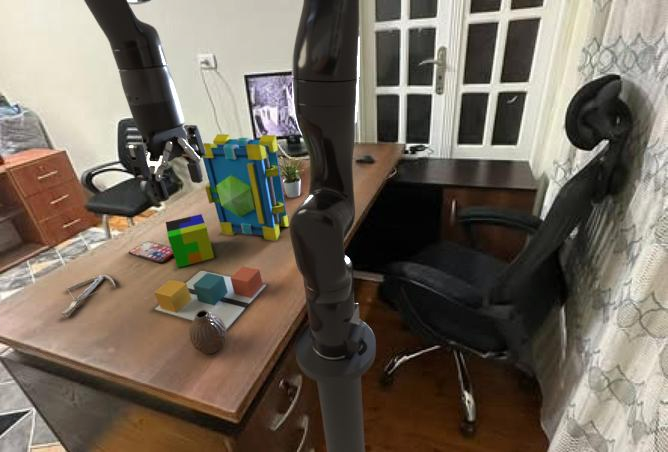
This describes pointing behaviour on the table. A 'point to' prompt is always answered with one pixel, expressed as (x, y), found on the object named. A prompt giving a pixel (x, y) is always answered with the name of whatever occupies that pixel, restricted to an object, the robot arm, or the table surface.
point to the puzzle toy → (189, 240)
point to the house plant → (291, 178)
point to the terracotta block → (246, 281)
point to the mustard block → (173, 296)
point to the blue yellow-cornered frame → (246, 185)
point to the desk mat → (224, 308)
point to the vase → (207, 332)
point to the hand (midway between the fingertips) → (181, 190)
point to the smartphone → (152, 252)
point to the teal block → (210, 288)
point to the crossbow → (85, 293)
